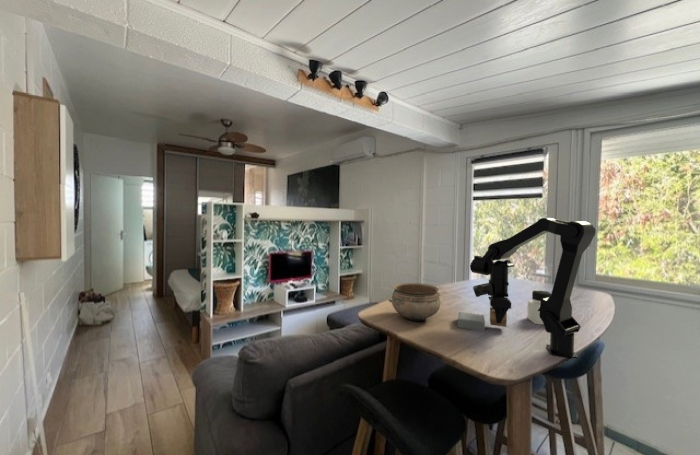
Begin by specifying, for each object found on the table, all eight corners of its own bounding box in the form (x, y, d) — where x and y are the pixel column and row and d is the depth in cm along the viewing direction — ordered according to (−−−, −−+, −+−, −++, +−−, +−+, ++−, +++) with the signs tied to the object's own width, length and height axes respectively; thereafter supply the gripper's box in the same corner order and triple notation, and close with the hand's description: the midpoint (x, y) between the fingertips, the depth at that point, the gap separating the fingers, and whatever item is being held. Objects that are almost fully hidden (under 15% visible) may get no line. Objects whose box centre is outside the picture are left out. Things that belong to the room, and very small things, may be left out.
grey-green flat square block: (484, 331, 102) (484, 322, 102) (457, 327, 105) (457, 318, 105) (483, 322, 110) (483, 314, 110) (458, 319, 114) (458, 311, 114)
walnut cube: (506, 326, 101) (506, 312, 101) (490, 324, 103) (490, 310, 103) (504, 322, 106) (505, 308, 106) (489, 320, 108) (490, 307, 107)
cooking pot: (404, 331, 101) (405, 297, 100) (375, 315, 118) (376, 285, 117) (456, 320, 112) (457, 289, 112) (423, 307, 129) (423, 280, 129)
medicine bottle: (555, 325, 108) (556, 294, 107) (534, 324, 109) (535, 292, 109) (546, 319, 115) (547, 289, 114) (526, 317, 116) (527, 288, 116)
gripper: (474, 271, 116) (473, 310, 116) (474, 280, 98) (473, 326, 99) (505, 273, 111) (504, 313, 112) (512, 284, 94) (510, 331, 95)
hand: (497, 320), depth 104 cm, fingers closed on walnut cube, 5 cm apart
